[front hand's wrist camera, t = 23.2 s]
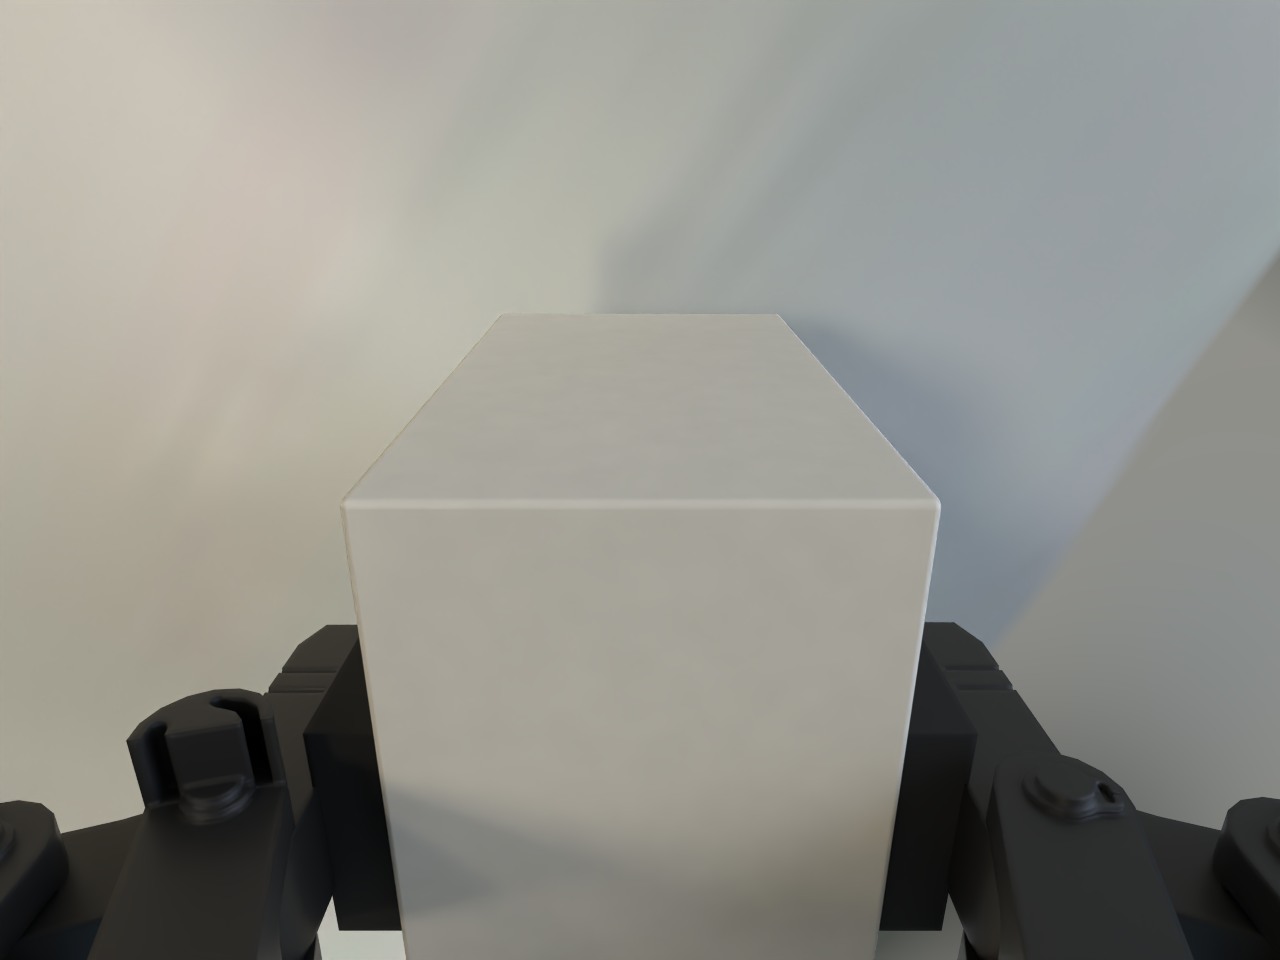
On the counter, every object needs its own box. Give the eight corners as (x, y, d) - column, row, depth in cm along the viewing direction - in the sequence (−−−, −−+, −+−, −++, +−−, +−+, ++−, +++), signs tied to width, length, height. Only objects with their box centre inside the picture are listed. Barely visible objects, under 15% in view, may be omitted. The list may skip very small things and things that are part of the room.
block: (522, 661, 18) (422, 1089, 10) (500, 313, 15) (335, 500, 7) (757, 660, 18) (857, 1089, 10) (780, 312, 15) (946, 500, 7)
